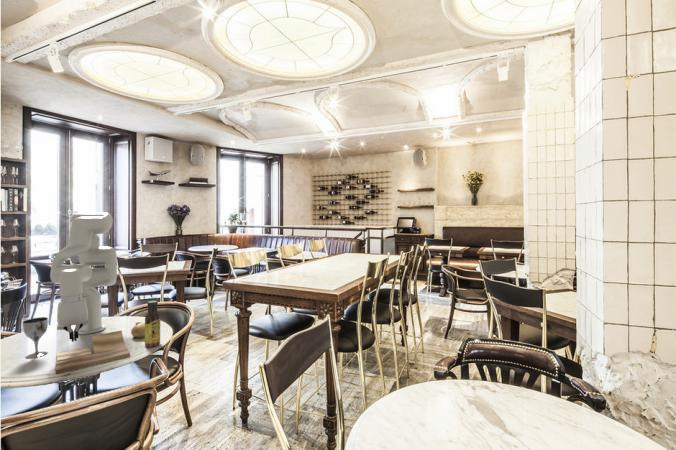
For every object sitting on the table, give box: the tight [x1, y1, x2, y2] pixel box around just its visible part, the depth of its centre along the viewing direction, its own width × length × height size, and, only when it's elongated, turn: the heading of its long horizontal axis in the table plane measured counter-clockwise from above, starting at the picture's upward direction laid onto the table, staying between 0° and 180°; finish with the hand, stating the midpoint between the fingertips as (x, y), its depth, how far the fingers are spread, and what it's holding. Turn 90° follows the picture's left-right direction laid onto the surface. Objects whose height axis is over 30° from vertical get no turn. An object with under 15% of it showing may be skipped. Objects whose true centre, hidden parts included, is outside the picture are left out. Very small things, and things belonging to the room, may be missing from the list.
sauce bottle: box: [144, 300, 161, 348], centre depth 154 cm, size 6×6×20 cm
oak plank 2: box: [91, 330, 126, 354], centre depth 149 cm, size 10×11×1 cm
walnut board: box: [54, 346, 131, 375], centre depth 138 cm, size 9×24×1 cm, turn 130°
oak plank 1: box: [56, 346, 92, 362], centre depth 142 cm, size 10×11×1 cm
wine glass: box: [22, 316, 49, 360], centre depth 143 cm, size 8×8×15 cm
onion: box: [130, 321, 145, 339], centre depth 165 cm, size 8×8×7 cm
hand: (74, 340), depth 144 cm, fingers closed
